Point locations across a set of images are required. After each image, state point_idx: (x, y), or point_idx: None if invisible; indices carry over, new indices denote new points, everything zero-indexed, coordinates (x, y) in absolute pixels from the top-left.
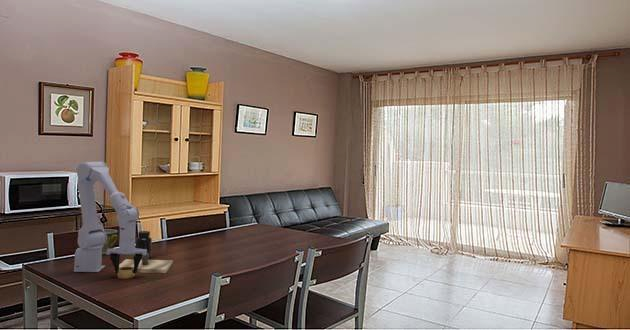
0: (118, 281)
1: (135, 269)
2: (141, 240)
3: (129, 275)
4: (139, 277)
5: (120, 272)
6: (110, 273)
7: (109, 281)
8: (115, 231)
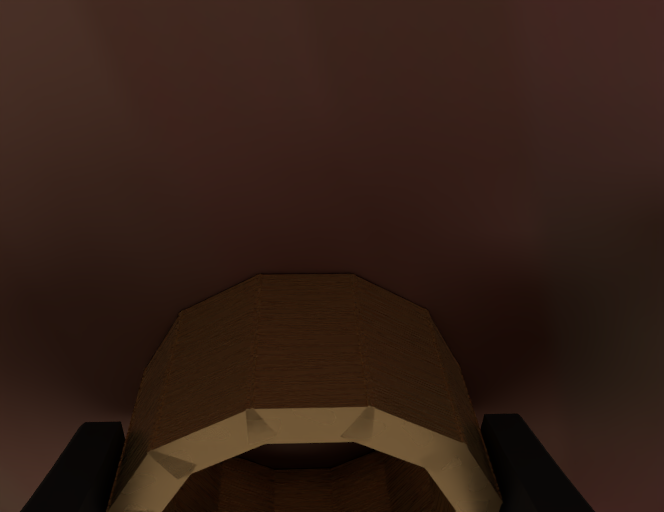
0: (365, 64)
1: (35, 498)
2: None
3: (187, 342)
4: (6, 349)
5: (402, 382)
6: (597, 485)
7: (590, 58)
8: None
